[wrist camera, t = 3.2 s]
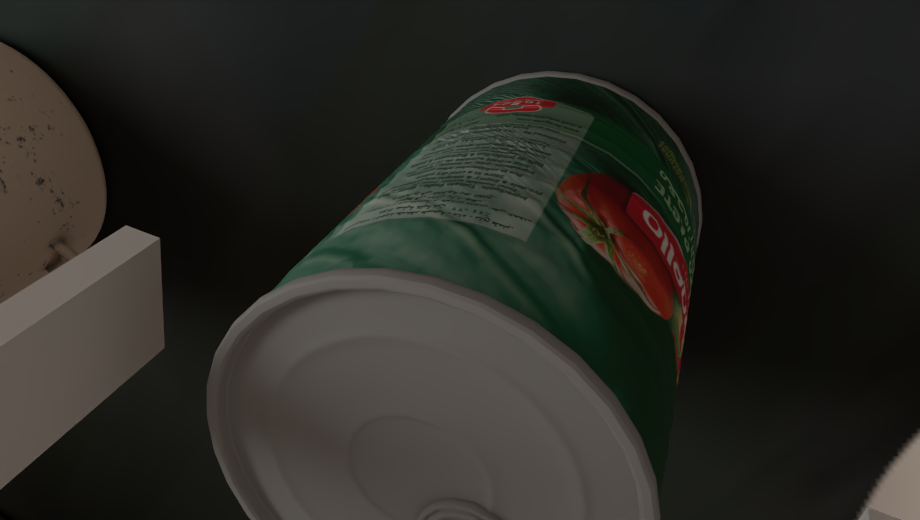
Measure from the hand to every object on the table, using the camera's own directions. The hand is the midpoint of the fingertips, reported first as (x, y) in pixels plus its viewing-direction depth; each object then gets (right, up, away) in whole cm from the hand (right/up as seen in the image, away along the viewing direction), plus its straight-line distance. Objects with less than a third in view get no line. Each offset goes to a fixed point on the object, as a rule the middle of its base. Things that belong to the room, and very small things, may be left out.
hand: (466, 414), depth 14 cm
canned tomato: (+3, +4, +8) cm, 9 cm away
